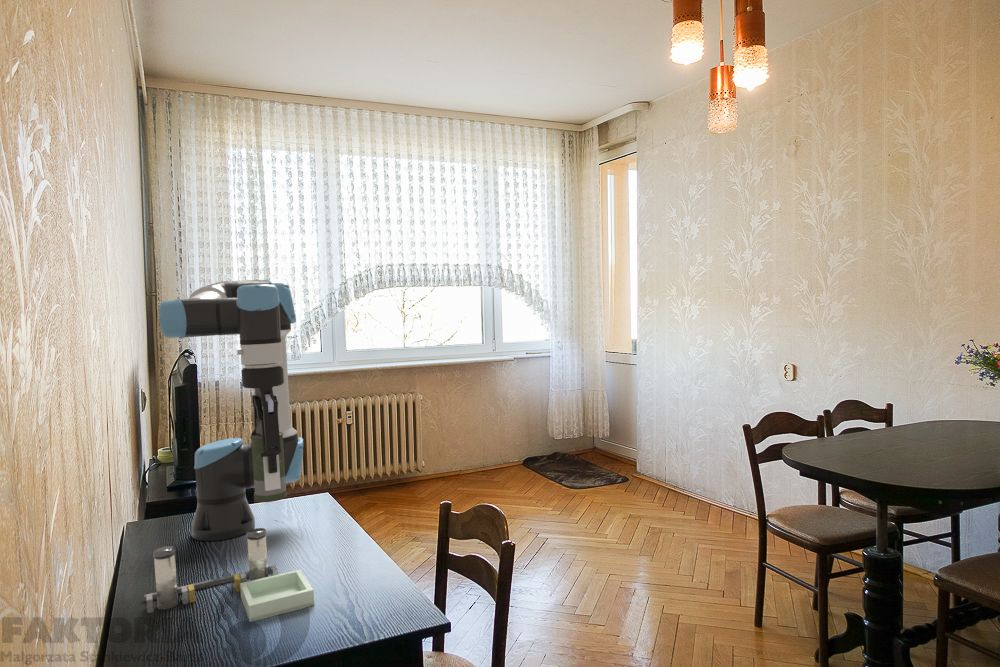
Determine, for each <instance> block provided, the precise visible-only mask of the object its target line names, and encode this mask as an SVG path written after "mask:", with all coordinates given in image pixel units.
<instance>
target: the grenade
mask: <svg viewBox="0 0 1000 667" xmlns="http://www.w3.org/2000/svg"><path fill="white" fill-rule="evenodd" d="M279 436H280V448H281V452H280V453H279V468H280V484H281V489H275V490H269V491H265V481H264V465H263V457H260V454H262V453H264V446H263V438H262V429H261V421H257V424H256V428H255V429H253V431H252V432H251V435H250V438H249V439H250V440H251V442H252V457H253V472H254V487H253V488H254V502H257V503H270V502H271V503H272V502H277V501H280V500H284V499H285V498H287V496H288V494H287V493H288V492H287V488H286V486H287V485H286V484H287V483H286V482H285V466H284V450H283V433H282V432H279ZM251 442H250V443H251ZM270 448H272V447H270Z"/></svg>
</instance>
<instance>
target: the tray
mask: <svg viewBox="0 0 1000 667" xmlns="http://www.w3.org/2000/svg"><path fill="white" fill-rule="evenodd" d="M240 590H241V591H240V600H241V601H242V605H243V608H244V610H245V612H246V616H247V618H248V620H249V623H251V622H255V621H260V620H263V619H267V618H271V617H275V616H278V615H279V616H280V615H282V614H286V613H291V612H295V611H297V610H302V609H305V608H309V607H312V606H313V607H314V606H315V596H314V595H315V594H314V588H313V587H312V585H311V584H310V582H309V581H308V579H307V578H306V577H305V575H304V573H303V571H302V570H301V569H300V568H299V569H296V570H291V571H287V572H282V573H278V575H274V576H271V575H270V576H269V575H268V577H265V578H261V579H257V580H252V581H250V580H249V581H248V580H247V582H244V583H240Z"/></svg>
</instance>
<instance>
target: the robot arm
mask: <svg viewBox="0 0 1000 667" xmlns="http://www.w3.org/2000/svg"><path fill="white" fill-rule="evenodd" d="M158 311H159V312H158V318H159V321H158V322H159V327H160V333H161V334H162V336H163V337H165V338H168V339H169V338H170V339H172V338H173V339H175V338H176V339H184V338H197V337H199V338H200V337H213V336H231V335H233V336H234V335H235V336H236V335H238V336H239V346H240V347H239V348H240V349H238V350H236V354H237V355H239V356H240V361H241V362H240V364H241V365H242V366H244V367H243V368H242V369H241V382H242V383H241V386H242V387H243V388H244V389H253V391H254V394H252V396H251V402H252V406H253V407H252V410H253V411H252V412H253V427H254V429H255V428H256V424H257V421H261V429H262V438H263V446H264V453H262V454H260V457H263V465H264V481H265V491H269V490H275V489H281V484H280V468H279V453H280V452H281V448H280V436H279V432H282V433H283V450H284V466H285V482H286V484H289V483H290V484H291V483H295V482H297V481H299V479H300V478H301V476H302V470H303V458H304V438H303V437H301V436H298V430H296V429H295V428H294V427H293V426H292V425H291V424H292V422H291V420H292V419H291V408H290V391H289V390H290V388H289V374H288V359H287V356H288V355H287V335H288V334H289V333H290V332H291V331H292V324H296V322H297V318H296V313H295V312H296V310H295V306H294V302H293V297H292V292H291V288H290V285H289V282H287V281H286V280H284V279H270V278H269V279H253V280H252V279H251V280H250V279H249V280H248V279H247V280H225V281H219V282H215V283H212V284H209V285H208V284H207V285H205V286H201V287H200V288H197V289H196V290H194V291H193V292H192V293H191V294H190V295H189V297H188V298H187V299H186V298H184V299H180V298H179V299H178V298H175V299H170V300H163V301H162V302H161V303H160V304H159V310H158ZM254 429H253V430H254ZM270 447H272V448H270ZM193 470H194V474H195V488H196V489H195V490H196V502H197V504H196V505H197V506H196V510H195V513H194V516H193V520H192V524H191V530H190V531H191V538H192V539H193V540H196V541H201V542H212V541H213V542H215V541H216V542H217V541H222V540H223V541H224V540H228V539H233V538H236V537H237V538H238V537H240V536H243V535H244V534H246V533H247V532H248V531H249V530H252V529H255V527H256V522H255V516H254V513H253V511H252V508H251V507H250V504H249V501H248V498H247V495H246V493H247V492H246V489H251V488H254V472H253V457H252V442H246V443H245V442H244V441H243V438H241V437H231V438H226V439H220V440H216V441H213V442H209V443H207V444H204V445H202V446H200V447H199V448H198V449H197V450H196V451H195V452H194V466H193Z"/></svg>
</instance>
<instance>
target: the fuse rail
mask: <svg viewBox="0 0 1000 667" xmlns="http://www.w3.org/2000/svg"><path fill="white" fill-rule="evenodd" d="M245 534H246V539H247V542H246V543H247V554H248V571H244V572H243V571H242V572H239V573H235V574H231V575H225V576H222V577H217V578H212V579H209V580H204V581H199V582H195V583H192V584H191V583H190V584H186V585H183V586H178V580H177V579H178V578H177V568H176V563H177V562H176V547H175V546H173V545H172V546H171V545H170V546H168V545H167V546H162V547H159V548H158V547H157V548H156V549H154V550H153V551H152V557H153V561H154V562H153V564H154V574H155V575H154V577H155V589H156V590H155V591H156V592H151V593H146V594H144V595H143V598H144V600H143V601H144V603H145V602H146V612H147V614H150V613H154V600H156V606H157V609H158V610H164V611H165V610H169V609H172V608H175V607H177V606H178V605H179V594H181V601H182V605H188V604H192V603H195V602H196V593H195V592H196V590H198V591H199V590H200V589H201V590H202V589H205V588H209V587H214V586H217V585H218V586H220V585H222V584H226V583H231V582H233V587H234V590H235V592H236V593H237V592H241V590H240V583H244V582H248V577H249V581H252V580H257V579H261V578H265V577H269V574H270V576H274V575H278V574H279V569H278V568H277V566H276V564H275V565H274V564H273V565H270V566H269V565H268V562H269V561H268V551H267V550H268V549H267V529H266V528H263V527H260V528H259V527H258V528H257V527H256V528H253V529H252V530H249V531H248V532H247V533H245Z"/></svg>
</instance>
